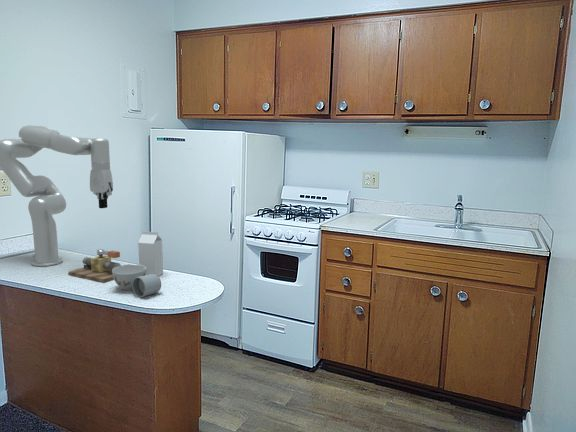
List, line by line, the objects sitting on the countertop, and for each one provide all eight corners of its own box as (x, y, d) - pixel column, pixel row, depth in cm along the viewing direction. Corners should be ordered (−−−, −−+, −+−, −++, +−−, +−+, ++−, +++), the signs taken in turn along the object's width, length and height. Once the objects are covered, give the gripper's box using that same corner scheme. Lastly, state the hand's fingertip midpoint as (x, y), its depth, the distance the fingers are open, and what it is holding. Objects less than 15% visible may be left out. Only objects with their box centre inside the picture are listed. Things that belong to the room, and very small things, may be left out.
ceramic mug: (163, 293, 160) (162, 273, 159) (145, 299, 153) (144, 279, 152) (144, 288, 166) (143, 269, 165) (126, 294, 159) (125, 274, 158)
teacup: (129, 295, 157) (128, 274, 156) (105, 290, 163) (104, 270, 161) (158, 284, 170) (157, 265, 169) (135, 279, 176) (134, 261, 175)
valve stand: (68, 274, 181) (66, 255, 180) (100, 265, 195) (99, 247, 194) (103, 283, 171) (102, 262, 170) (134, 272, 185) (133, 254, 184)
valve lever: (95, 254, 181) (95, 249, 181) (101, 253, 184) (101, 248, 183) (114, 258, 176) (114, 253, 176) (120, 256, 178) (119, 251, 178)
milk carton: (155, 278, 178) (153, 234, 175) (139, 277, 179) (137, 233, 176) (163, 273, 185) (161, 230, 182) (148, 272, 186) (146, 230, 183)
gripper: (82, 166, 188) (84, 207, 190) (105, 167, 181) (107, 210, 184) (96, 166, 194) (99, 205, 197) (119, 167, 187) (121, 208, 190)
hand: (103, 207), depth 190 cm, fingers closed
